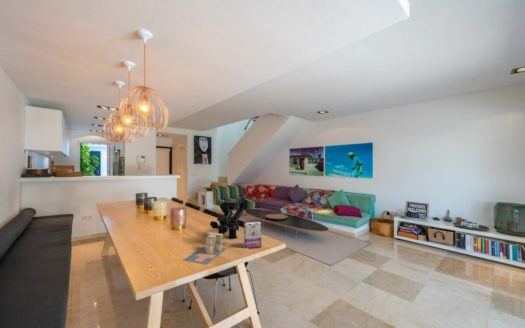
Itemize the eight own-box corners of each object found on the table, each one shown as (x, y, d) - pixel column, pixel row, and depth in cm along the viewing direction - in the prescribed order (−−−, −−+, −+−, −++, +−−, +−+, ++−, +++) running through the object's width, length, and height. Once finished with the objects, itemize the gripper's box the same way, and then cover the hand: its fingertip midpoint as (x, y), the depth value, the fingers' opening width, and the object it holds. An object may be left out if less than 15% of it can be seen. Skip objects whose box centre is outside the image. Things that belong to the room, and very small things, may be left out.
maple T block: (209, 247, 140) (209, 232, 140) (222, 249, 137) (222, 234, 137) (201, 252, 132) (201, 236, 132) (215, 255, 129) (215, 238, 129)
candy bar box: (259, 245, 148) (259, 221, 148) (261, 247, 143) (261, 223, 143) (243, 246, 145) (243, 222, 145) (244, 249, 140) (245, 224, 140)
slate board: (205, 246, 144) (206, 245, 144) (227, 249, 139) (227, 248, 139) (182, 261, 121) (182, 260, 121) (206, 265, 116) (206, 264, 116)
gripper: (211, 209, 151) (202, 229, 140) (235, 211, 145) (227, 233, 134) (216, 218, 158) (208, 237, 148) (240, 220, 152) (232, 241, 142)
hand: (218, 237), depth 143 cm, fingers closed
